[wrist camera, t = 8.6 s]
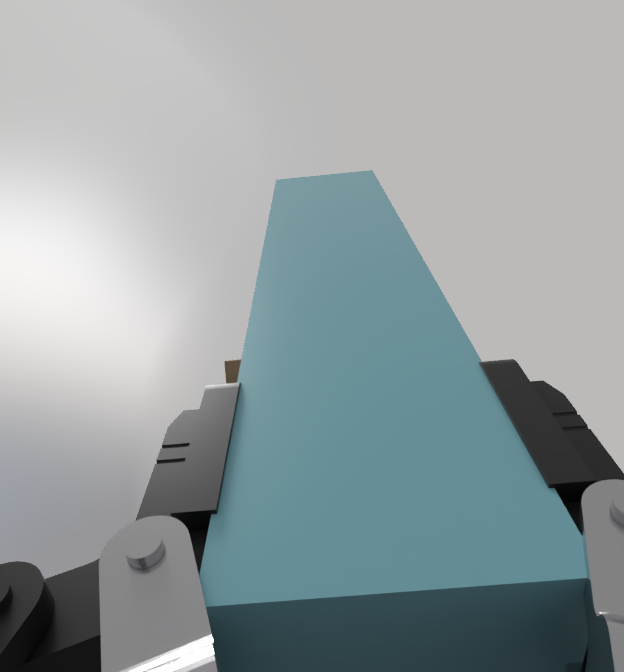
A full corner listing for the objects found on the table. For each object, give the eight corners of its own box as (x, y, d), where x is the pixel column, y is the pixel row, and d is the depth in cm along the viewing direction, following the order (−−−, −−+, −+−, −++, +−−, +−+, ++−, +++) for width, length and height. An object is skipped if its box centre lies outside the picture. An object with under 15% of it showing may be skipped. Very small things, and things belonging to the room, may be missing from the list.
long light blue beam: (631, 833, 6) (505, -384, 7) (213, 860, 6) (114, -333, 7) (395, 454, 29) (369, 180, 29) (303, 461, 29) (279, 189, 29)
